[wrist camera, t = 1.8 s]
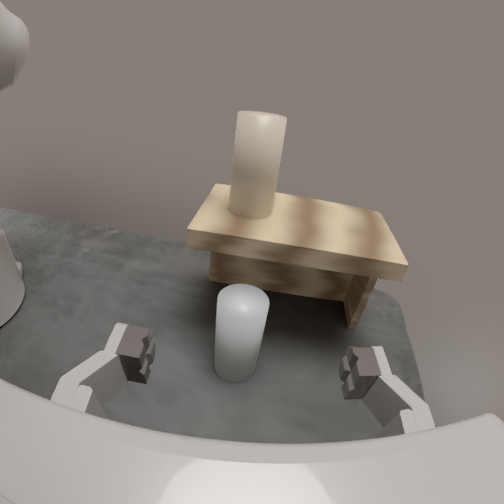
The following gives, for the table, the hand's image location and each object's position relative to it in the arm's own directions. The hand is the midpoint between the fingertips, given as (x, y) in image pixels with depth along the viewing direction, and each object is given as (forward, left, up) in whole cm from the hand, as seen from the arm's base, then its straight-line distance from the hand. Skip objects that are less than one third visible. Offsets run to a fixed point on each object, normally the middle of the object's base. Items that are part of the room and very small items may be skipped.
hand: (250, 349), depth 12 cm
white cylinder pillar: (-1, +12, -18) cm, 22 cm away
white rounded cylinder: (-2, +21, -4) cm, 21 cm away
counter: (+3, +21, -18) cm, 28 cm away
